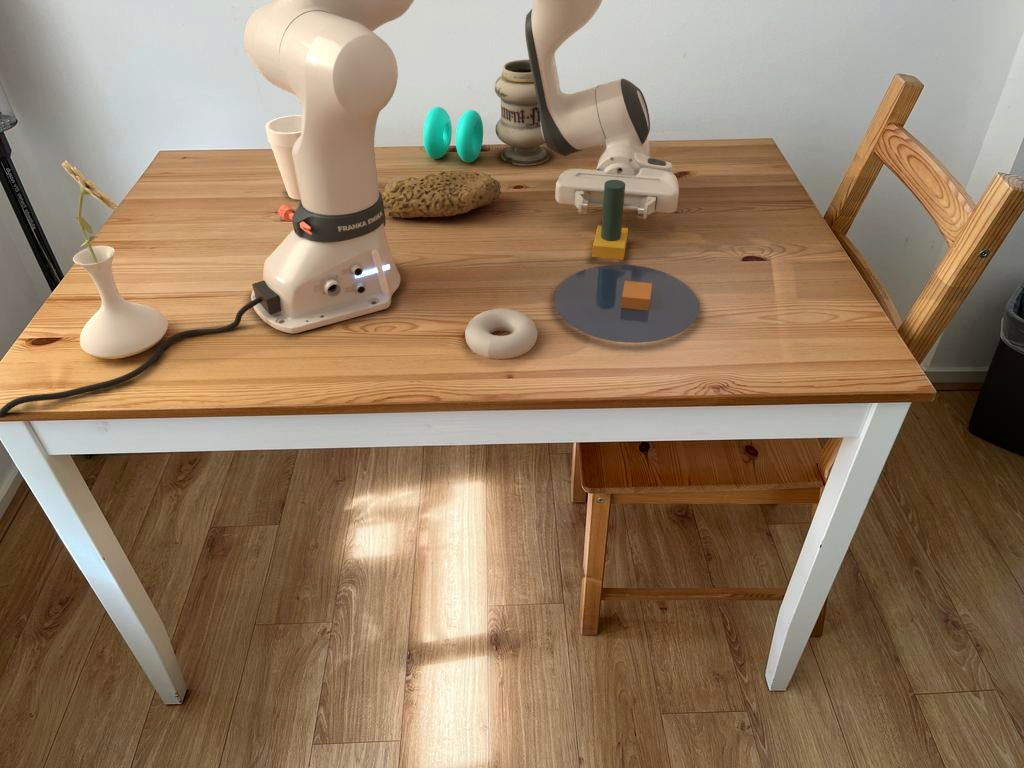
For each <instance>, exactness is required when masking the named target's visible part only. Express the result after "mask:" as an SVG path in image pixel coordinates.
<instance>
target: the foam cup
mask: <svg viewBox="0 0 1024 768" xmlns="http://www.w3.org/2000/svg"><path fill="white" fill-rule="evenodd" d="M264 127H265V132H266V137H267V142H268V144H269V145H270V147H271V150H272V153H273V156H274V159H275V161H276V165H277V167H278V170H279V173H280V175H281V178H282V181H283V185H284V187H285V190H286V193H287V194H288V197H289V198H291V200H297V201H300V199H301V197H300V192H299V187H298V182H297V177H296V172H295V167H294V162H293V157H292V149H293V146H294V143H295V142H296V140H297V139H298V138H299V137H300V136H301V131H302V114H289V115H284V116H283V115H282V116H279V117H276V118H274V119H271V120H268V122H266V123H265V125H264Z"/></svg>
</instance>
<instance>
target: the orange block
mask: <svg viewBox="0 0 1024 768" xmlns="http://www.w3.org/2000/svg"><path fill="white" fill-rule="evenodd" d="M651 289H652V283H644V282H634V281H625V283H624V289H623V294H622V303H621V308H625V309H635V310H645V311H649V306H650V298H651Z"/></svg>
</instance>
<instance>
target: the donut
mask: <svg viewBox="0 0 1024 768" xmlns="http://www.w3.org/2000/svg"><path fill="white" fill-rule="evenodd" d="M500 331H501V332H507V333H509V334H505V335H498V334H497V335H496V334H493V333H496V332H500ZM538 335H539V333H538V328H537V325H536V323H535V321H533V319H531V317H530V316H528V315H527V314H525V313H523V312H522V311H519V310H516V309H513V308H492V309H488V310H485V311H482V312H481V313H478V314H476V315H474V317H473V318H471V319H470V320H469V322H467V326H466V328H465V331H464V337H465V342H466V344H467V346H468V347H469V349H470V350H471V351H472V352H473V353H474V354H477V355H478V356H481V357H484V358H487V359H493V360H509V359H514V358H517V357H521V356H523V355H525V354H526V353H528V352H530V351H531V350H532V349H533V348H534V347H535V345H536V344H537V340H538Z"/></svg>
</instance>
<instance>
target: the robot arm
mask: <svg viewBox="0 0 1024 768" xmlns="http://www.w3.org/2000/svg"><path fill="white" fill-rule="evenodd" d="M414 2H415V0H273V1H271V2H268V3H265V4H263V5H261V6H259V7H258V8H256V9H255V10H254V11H253V12H252V13H251V15H250V16H249V18H248V20H247V22H246V24H245V26H244V27H245V28H244V32H243V45H244V50H245V53H246V56H247V58H248V60H249V62H250V63H251V64H252V66H253V67H254V68H255V69H256V70H257V71H258V72H259V73H260V74H261V76H262V77H264V78H265V80H267V81H268V82H269V83H270V84H272V85H273V86H275V87H277V88H278V89H281V90H283V91H285V92H287V93H288V94H289V93H290V94H291V95H293V96H296V98H297V99H298V101H299V104H300V107H301V115H302V131H301V136H300V137H299V138H298V139H297V140H296V142H295V143H294V146H293V149H292V157H293V162H294V167H295V172H296V177H297V182H298V187H299V192H300V197H301V199H300V200H299V202H298V205H297V208H296V210H295V209H294V208H292V206H289V205H288V204H282V205H280V206H279V208H278V209H277V214H278V216H279V218H281V219H283V221H284V222H286V223H292V227H293V229H292V230H291V231H290V232H289V234H288V235H287V236H286V237H285V238H284V239H283V240H282V241H281V242H280V244H279V245H278V246H277V247H276V248H275V249H273V251H272V253H270V254H269V256H268V257H266V259H265V260H264V263H263V267H262V269H263V270H262V280H260V281H257V282H254V283H252V284H251V286H252V292H251V294H250V295H251V296H250V298H251V301H249V302H248V303H246V304H245V305H243V306H242V307H241V308H240V309H239V310H237V312H236V315H235V319H234V320H233V322H231V323H230V324H227V325H225V326H222V327H217V328H199V329H198V328H196V329H187V330H184V331H180V332H177V333H175V334H173V335H171V336H169V337H167V338H166V339H165V340H164V341H162V342H161V343H160V344H159V345H158V346H157V347H156V348H155V349H154V351H153V352H152V353H151V355H149V357H148V358H147V359H146V361H145V362H143V363H142V364H141V365H140V366H138V367H137V368H135V369H133V370H132V371H129V372H127V373H125V374H123V375H121V376H118V377H115V378H113V379H110V380H106V381H102V382H97V383H93V384H90V385H84V386H81V387H76V388H72V389H70V390H64V391H58V392H52V393H51V392H50V393H38V394H30V395H25V396H24V395H23V396H20V397H16V398H14V399H12V400H10V401H8V402H6V404H4V405H3V406H2V407H1V408H0V419H1V418H3V417H5V416H6V414H7V413H8V412H9V411H10V410H12V409H14V408H15V407H17V406H19V405H22V404H26V403H32V402H33V403H34V402H40V401H54V400H61V399H66V398H71V397H74V396H78V395H81V394H82V395H83V394H87V393H90V392H94V391H95V392H96V391H99V390H104V389H107V388H110V387H115V386H117V385H120V384H122V383H125V382H127V381H130V380H131V379H134V378H136V377H138V376H139V375H141V374H142V373H144V372H146V371H147V370H148V369H149V368H150V367H151V366H152V365H153V364H154V362H155V361H156V360H157V359H158V357H159V356H160V355H161V353H163V351H164V350H165V349H166V348H167V347H169V346H170V345H171V344H173V343H174V342H176V341H178V340H180V339H181V340H182V339H183V338H186V337H192V336H205V335H214V334H221V333H222V334H223V333H227V332H230V331H232V330H234V329H236V328H237V327H238V326H239V325H240V324H241V321H242V318H243V315H245V313H246V312H248V311H249V310H251V309H252V308H253V310H254V312H255V313H256V314H257V316H258V317H259V318H260V319H261V320H262V321H263V322H265V324H267V325H269V326H270V327H271V328H273V329H275V330H277V331H280V332H283V333H287V334H291V335H292V334H293V335H294V334H298V333H302V332H306V331H310V330H314V329H317V328H320V327H325V326H328V325H332V324H336V323H340V322H343V321H347V320H350V319H354V318H357V317H361V316H365V315H368V314H372V313H376V312H380V311H383V310H386V309H389V307H390V306H391V303H392V296H393V295H394V294H395V292H396V291H397V290H398V289H399V287H400V284H401V274H400V272H399V270H398V268H397V266H396V264H395V261H394V257H393V255H392V252H391V249H390V244H389V242H388V238H387V237H388V236H387V233H386V229H385V227H386V223H387V222H386V212H385V210H384V204H383V198H382V194H383V193H382V192H381V191H380V190H379V181H378V173H377V162H376V154H375V153H376V152H375V135H376V128H377V123H378V118H379V115H380V113H381V111H382V110H383V109H384V108H386V106H388V104H389V103H390V102H391V100H392V99H393V97H394V94H395V91H396V89H397V86H398V79H399V69H398V62H397V58H396V56H395V54H394V51H393V49H392V48H391V47H390V45H389V44H388V43H387V42H386V41H385V40H384V39H383V38H381V37H380V36H379V35H378V34H377V33H376V32H374V31H376V30H377V29H378V28H380V27H382V26H384V25H385V24H387V23H390V22H393V21H395V20H397V19H399V18H401V17H402V16H403V15H404V14H406V13H407V11H409V9H410V7H411V6H412V5H413V4H414ZM602 2H603V0H533V3H532V8H531V9H530V10H529V11H528V12H527V14H526V15H525V23H524V24H525V25H524V36H525V43H526V50H527V54H528V60H529V61H530V66H531V72H532V76H533V81H534V86H535V91H536V96H537V101H538V106H539V112H540V122H541V132H542V136H543V139H544V141H545V145H546V148H548V149H549V150H550V151H552V152H554V153H556V154H558V155H560V156H563V157H568V156H570V155H572V154H573V155H574V154H575V153H578V152H581V151H583V150H585V149H589V148H592V147H596V146H600V145H603V146H602V149H601V151H600V155H599V156H600V157H599V160H598V161H597V166H596V168H595V169H585V168H569V169H565V170H564V171H563V172H562V173H560V174H559V176H558V179H557V180H556V182H555V190H554V191H555V192H554V193H555V194H554V198H555V201H556V202H557V203H558V204H560V205H568V206H574V207H576V208H577V210H578V211H577V213H578V214H581V215H582V214H583V215H588V213H589V208H590V207H592V208H601V209H603V199H604V184H605V182H606V181H609V180H620V181H623V182H624V183H625V195H624V206H623V210H626V211H637V216H636V218H637V219H640V220H647V218H648V216H649V215H651V214H653V213H663V214H673V213H675V212H676V211H677V210H678V209H677V208H678V203H679V195H680V186H679V181H678V178H677V176H676V175H675V174H674V170H673V169H674V168H673V167H674V166H673V163H671V162H669V161H665V160H661V159H658V158H653V157H650V156H651V150H650V142H649V138H648V137H649V134H650V132H651V131H650V130H651V118H650V112H649V108H648V104H647V101H646V98H645V96H644V94H643V92H642V90H641V89H640V88H639V87H638V86H637V85H635V83H633V82H631V81H630V80H628V79H626V78H620V79H616V80H613V81H609V82H605V83H602V84H599V85H596V86H593V87H590V88H586V89H584V90H583V89H582V90H580V91H576V92H573V93H564V92H563V91H562V90H561V84H560V78H559V74H558V67H557V62H556V56H555V55H556V52H557V51H558V49H559V48H560V47H561V46H562V45H563V44H564V43H565V42H566V41H567V40H568V39H569V38H571V37H572V36H573V35H574V34H575V33H577V32H578V31H580V30H581V29H582V28H584V27H585V25H587V24H588V23H589V22H590V20H591V19H592V18H593V17H594V16H595V15H596V13H597V12H598V10H599V9H600V6H601V5H602Z"/></svg>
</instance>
